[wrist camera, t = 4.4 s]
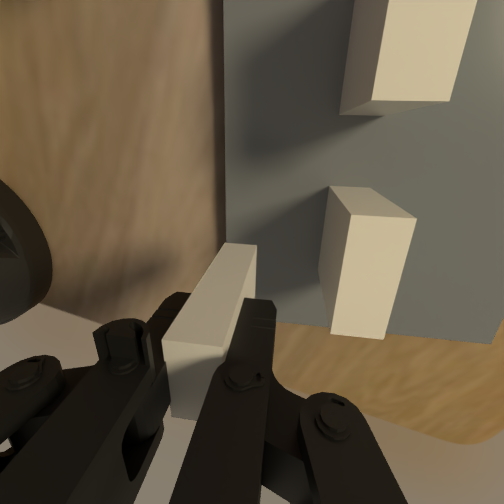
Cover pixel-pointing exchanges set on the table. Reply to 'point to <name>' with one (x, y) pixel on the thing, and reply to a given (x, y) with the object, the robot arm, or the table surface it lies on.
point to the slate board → (364, 166)
